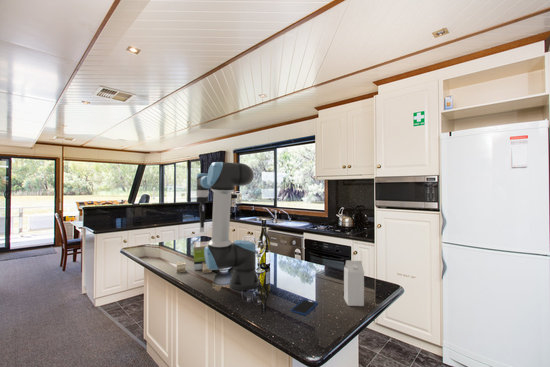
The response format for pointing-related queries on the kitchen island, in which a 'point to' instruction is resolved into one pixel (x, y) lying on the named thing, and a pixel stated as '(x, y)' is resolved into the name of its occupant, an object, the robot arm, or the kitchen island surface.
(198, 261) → the tea box
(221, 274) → the kitchen island surface
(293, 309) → the cell phone
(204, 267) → the marked block
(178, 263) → the marked block
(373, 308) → the kitchen island surface
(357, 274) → the milk carton
